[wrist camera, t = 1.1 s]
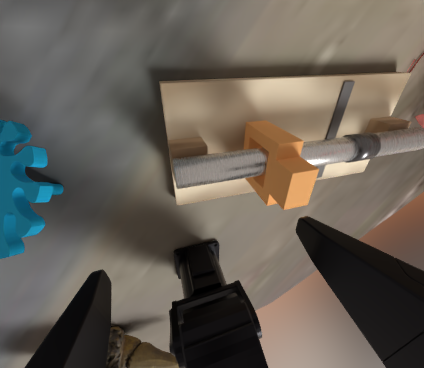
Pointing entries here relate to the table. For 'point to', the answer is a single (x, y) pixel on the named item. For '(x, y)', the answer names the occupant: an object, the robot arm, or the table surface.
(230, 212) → the table surface
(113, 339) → the brown carved figurine
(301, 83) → the tube stand
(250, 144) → the collar
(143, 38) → the table surface
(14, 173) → the gear
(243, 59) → the table surface
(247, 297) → the robot arm
